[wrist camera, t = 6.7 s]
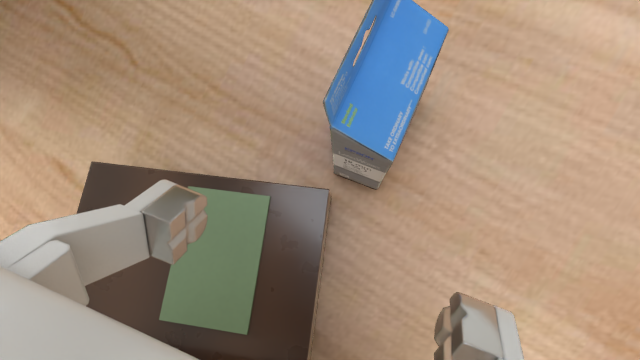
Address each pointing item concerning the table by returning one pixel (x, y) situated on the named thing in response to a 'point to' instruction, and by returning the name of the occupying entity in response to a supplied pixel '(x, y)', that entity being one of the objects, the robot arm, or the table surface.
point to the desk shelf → (221, 267)
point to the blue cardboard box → (380, 87)
